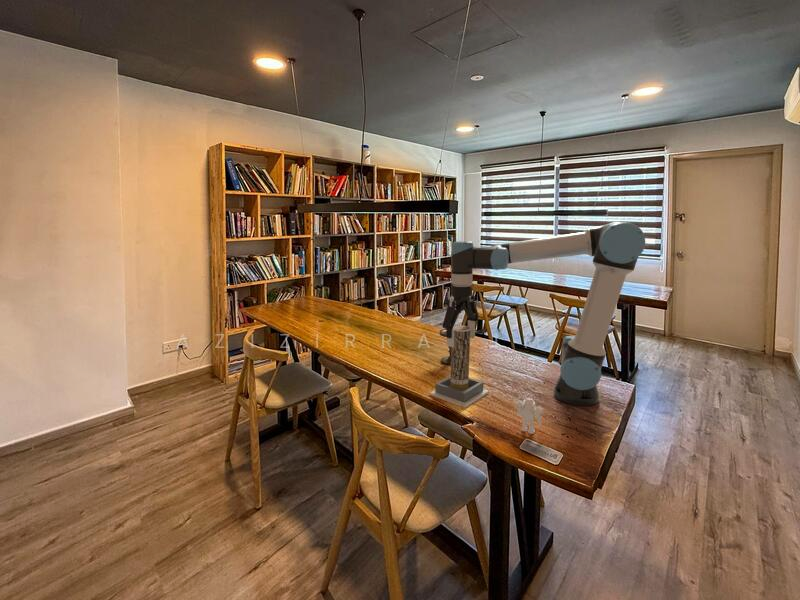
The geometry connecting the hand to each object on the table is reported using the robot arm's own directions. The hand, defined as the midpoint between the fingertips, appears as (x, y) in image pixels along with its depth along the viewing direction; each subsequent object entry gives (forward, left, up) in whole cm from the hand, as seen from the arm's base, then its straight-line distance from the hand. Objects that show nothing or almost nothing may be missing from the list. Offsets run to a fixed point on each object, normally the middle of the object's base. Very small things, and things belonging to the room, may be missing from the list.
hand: (461, 341), depth 145 cm
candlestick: (+22, -26, -21) cm, 40 cm away
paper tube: (0, 0, -20) cm, 20 cm away
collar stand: (0, 0, -21) cm, 21 cm away
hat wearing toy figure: (-31, +8, -21) cm, 38 cm away
